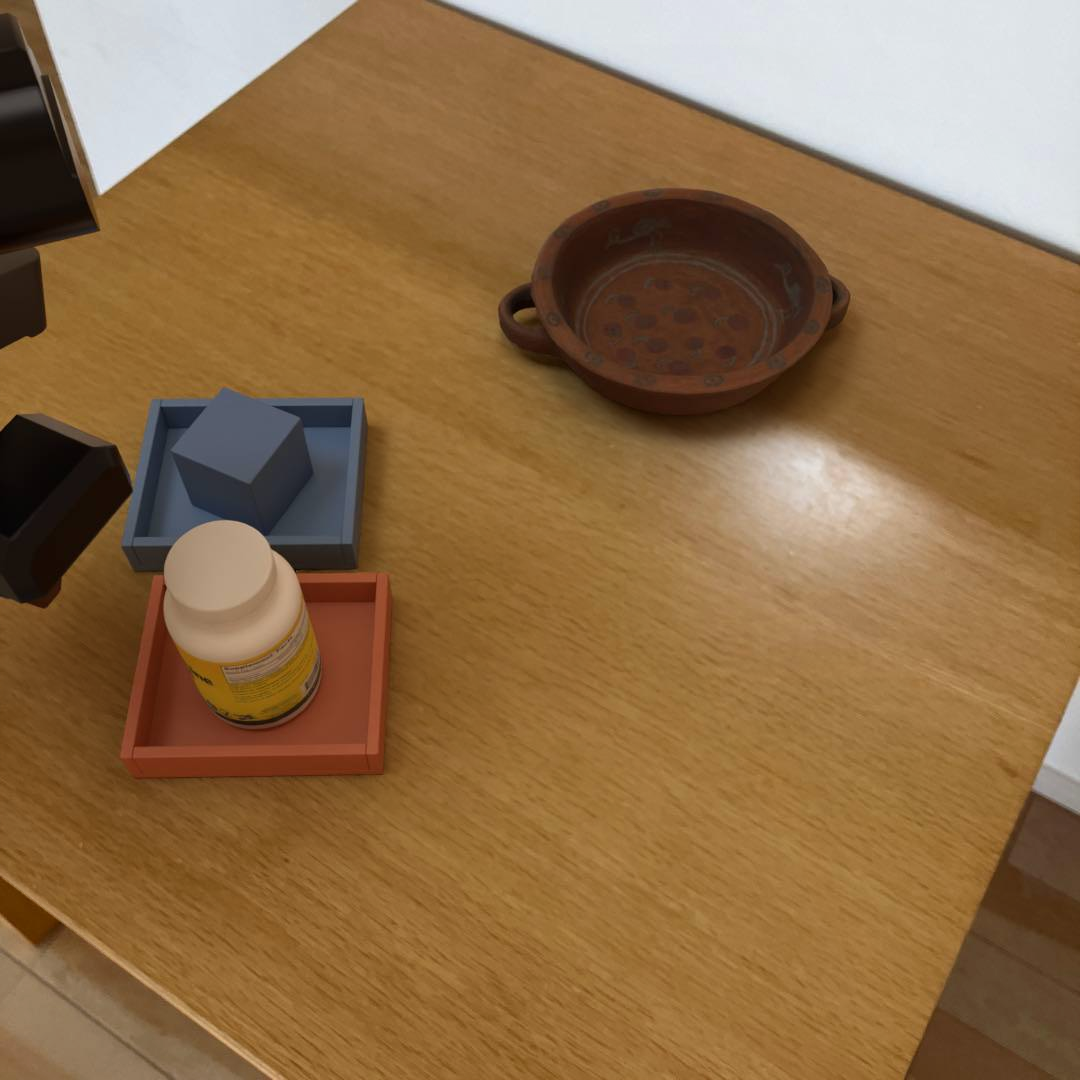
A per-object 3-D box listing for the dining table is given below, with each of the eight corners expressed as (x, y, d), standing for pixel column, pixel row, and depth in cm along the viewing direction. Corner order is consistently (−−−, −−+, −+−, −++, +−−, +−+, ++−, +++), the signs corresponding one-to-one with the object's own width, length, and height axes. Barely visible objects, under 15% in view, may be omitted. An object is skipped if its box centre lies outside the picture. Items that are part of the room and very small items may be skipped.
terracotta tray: (133, 778, 57) (118, 758, 55) (165, 599, 62) (153, 574, 60) (383, 774, 57) (378, 754, 55) (392, 596, 63) (388, 572, 61)
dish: (878, 430, 70) (901, 375, 66) (514, 460, 68) (514, 405, 64) (807, 233, 79) (823, 173, 75) (486, 254, 78) (485, 195, 73)
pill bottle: (189, 648, 60) (131, 528, 51) (305, 610, 62) (268, 487, 52) (217, 752, 57) (160, 644, 48) (338, 709, 58) (306, 597, 49)
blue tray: (133, 571, 63) (120, 546, 61) (162, 426, 69) (151, 398, 67) (357, 568, 64) (352, 543, 62) (367, 424, 69) (363, 397, 67)
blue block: (266, 538, 64) (249, 484, 60) (191, 505, 65) (169, 450, 61) (314, 473, 67) (301, 417, 63) (241, 442, 68) (223, 385, 64)
